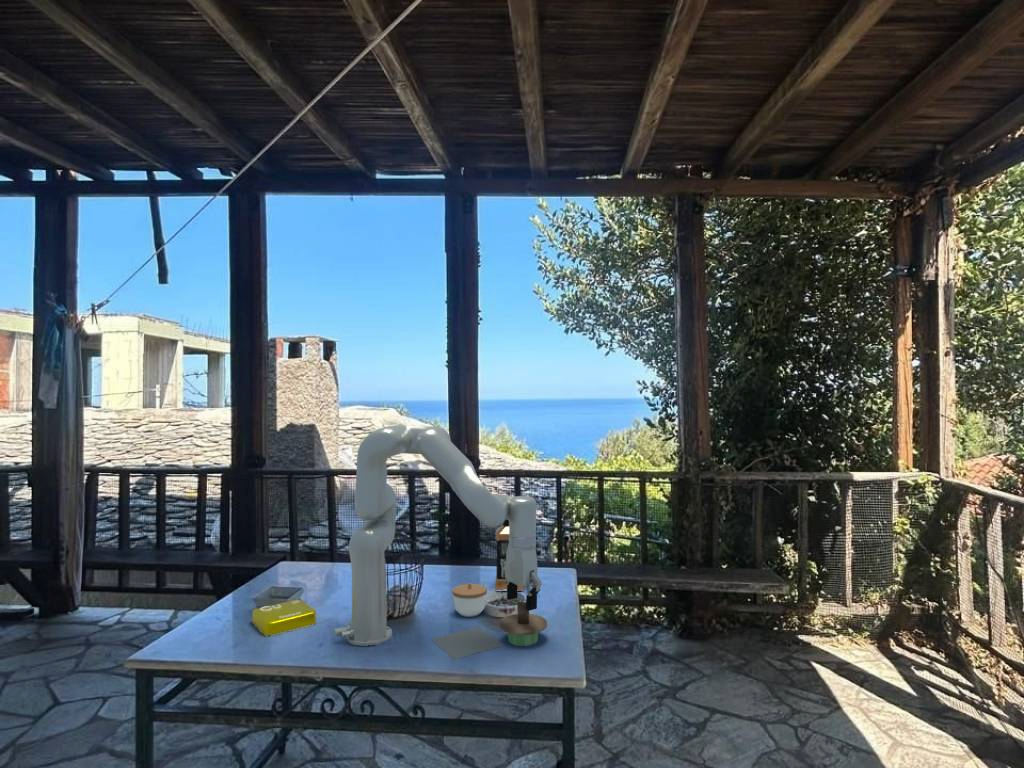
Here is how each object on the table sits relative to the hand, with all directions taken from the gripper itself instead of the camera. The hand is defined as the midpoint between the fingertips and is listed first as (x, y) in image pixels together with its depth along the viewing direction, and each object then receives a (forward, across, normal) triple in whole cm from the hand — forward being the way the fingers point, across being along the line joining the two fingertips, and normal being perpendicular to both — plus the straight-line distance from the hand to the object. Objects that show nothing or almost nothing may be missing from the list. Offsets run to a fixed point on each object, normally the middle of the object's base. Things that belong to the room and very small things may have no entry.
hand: (521, 604), depth 162 cm
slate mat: (+10, -6, -13) cm, 18 cm away
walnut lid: (+6, 0, 0) cm, 6 cm away
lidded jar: (+11, -26, -2) cm, 28 cm away
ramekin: (+10, +1, 0) cm, 10 cm away
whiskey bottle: (+10, -40, +22) cm, 47 cm away
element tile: (+12, -50, -52) cm, 73 cm away
